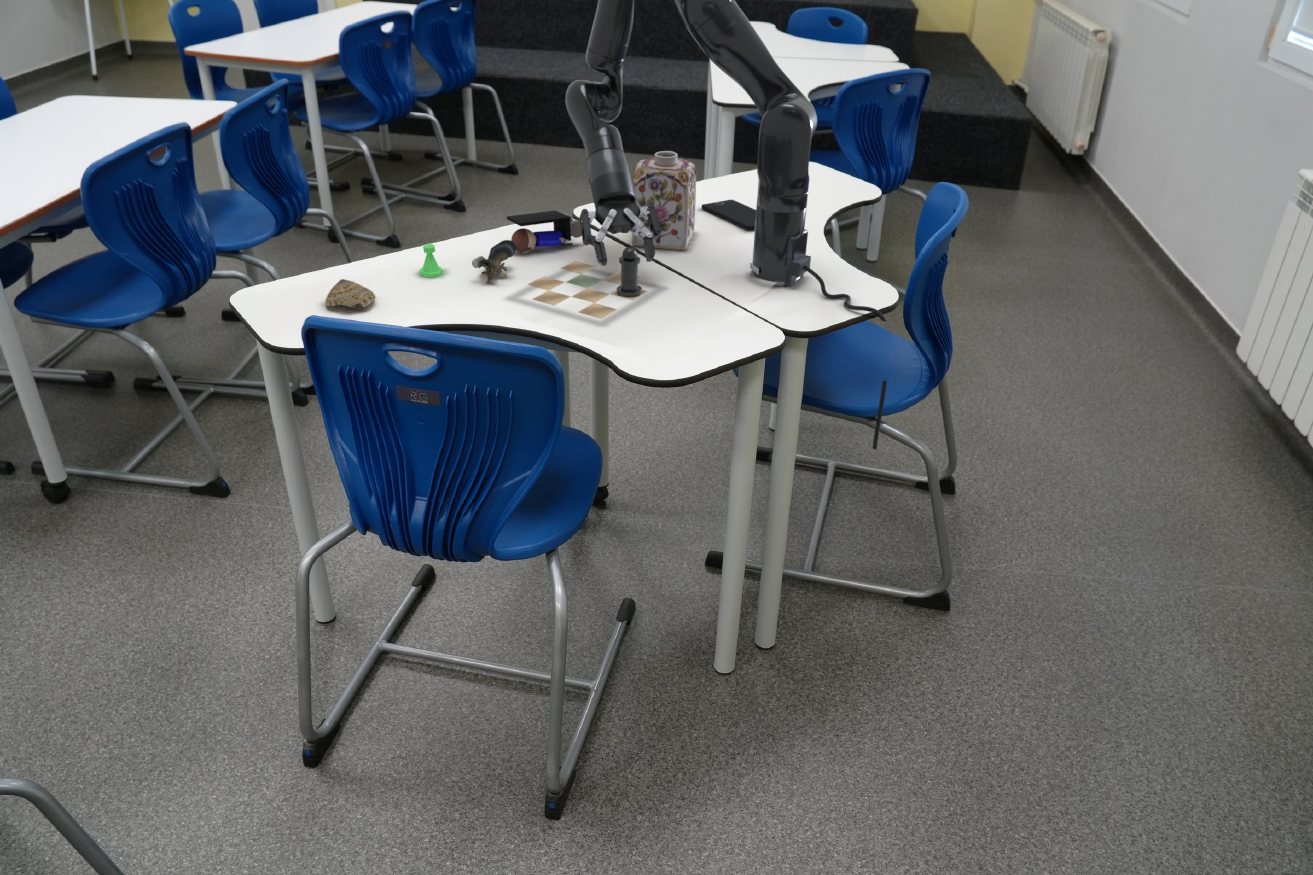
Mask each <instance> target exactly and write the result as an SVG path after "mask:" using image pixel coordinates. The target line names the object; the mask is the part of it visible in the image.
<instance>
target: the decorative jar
mask: <svg viewBox="0 0 1313 875" xmlns="http://www.w3.org/2000/svg"><path fill="white" fill-rule="evenodd" d="M697 174H698V172H697V168H696V166H695V164H694V163H692V162H691V161H688V160H686V159H683V158H679V156H678V153H677V152H675V151H671V150H662V151H657V152H655V153H654V156H653V157H649V158H645V159H641V160H639V161H638V162H637V164H636V166H635V170H634V174H633V178H632V185H633V190H634V194H635V199H636V204H637V205H638V207H639V208H643V207H648V206H649V204H653V205H654V206H655V210H656V213H657V217H658V220H659V224H660V227H661V233H660V235H659V237H658V239H656V240H655V239H654V240H653V243H654V248H655V249H663V250H676V251H686V250H687V248H688V246H689V244H690V241H691V239H692V237H693V235H694V233H695V223H696V204H697V203H696V202H697V201H696V200H697V198H696V197H697ZM638 218H639V219H640V220H641V221H642V222H643V223H644V225H645V227H646V228H647V229H648V230H649V231H650V228H649V224H648V221H647V220H645V219H644V217H643V216H642V215H639V217H638ZM643 243H644V242H643V241H642V240H641V239H640V238H639V237H638V236H635V235H634V234H633V233H632V232H631V245H632V247H638V248H639V247H640V248H644V246H643Z"/></svg>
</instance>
